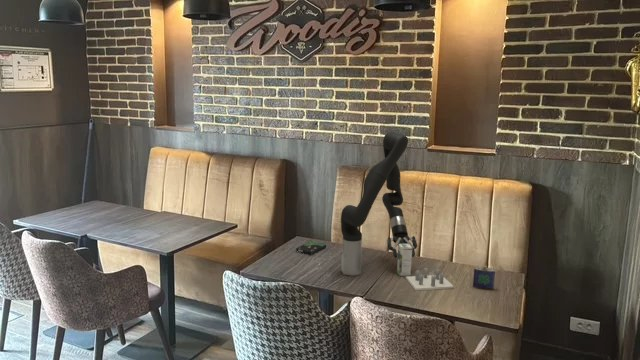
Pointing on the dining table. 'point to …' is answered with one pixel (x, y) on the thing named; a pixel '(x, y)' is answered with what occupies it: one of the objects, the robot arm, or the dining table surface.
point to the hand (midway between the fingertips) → (404, 256)
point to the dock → (429, 281)
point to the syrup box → (404, 260)
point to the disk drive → (311, 248)
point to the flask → (484, 278)
